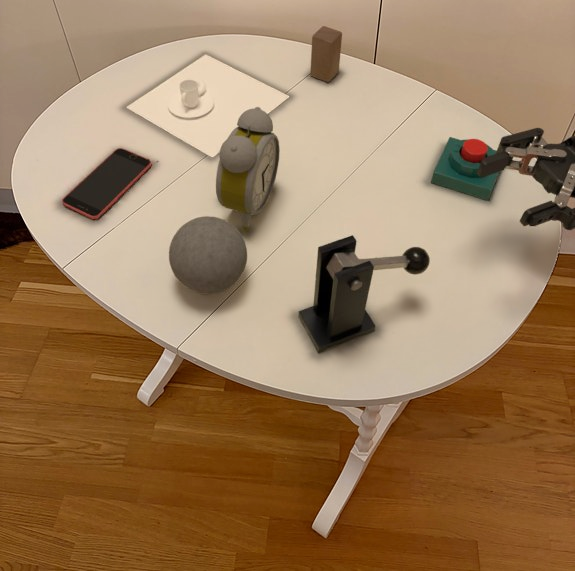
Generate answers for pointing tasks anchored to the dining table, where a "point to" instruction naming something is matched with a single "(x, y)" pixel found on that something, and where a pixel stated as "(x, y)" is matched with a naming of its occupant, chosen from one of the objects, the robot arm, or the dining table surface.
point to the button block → (462, 172)
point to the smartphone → (106, 183)
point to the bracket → (338, 299)
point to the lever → (383, 261)
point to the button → (474, 150)
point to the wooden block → (325, 53)
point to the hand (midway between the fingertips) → (501, 193)
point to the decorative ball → (208, 255)
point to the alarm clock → (248, 165)
